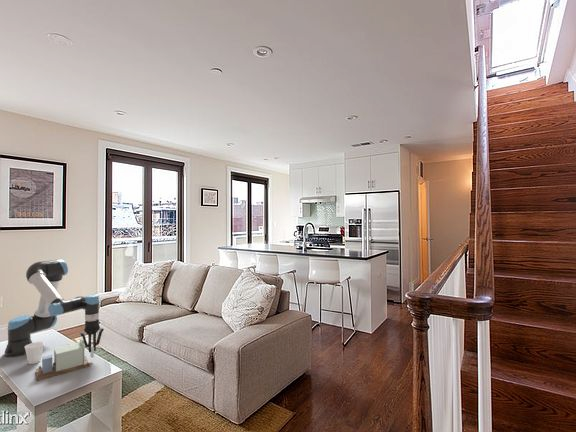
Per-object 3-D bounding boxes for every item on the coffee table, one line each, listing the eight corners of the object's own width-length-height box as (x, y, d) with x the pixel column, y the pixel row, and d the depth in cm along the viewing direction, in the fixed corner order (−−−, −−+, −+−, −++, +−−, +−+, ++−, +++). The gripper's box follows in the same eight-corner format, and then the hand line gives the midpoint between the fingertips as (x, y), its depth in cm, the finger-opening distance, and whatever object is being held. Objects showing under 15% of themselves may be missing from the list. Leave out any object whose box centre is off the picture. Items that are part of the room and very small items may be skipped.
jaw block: (51, 367, 185) (51, 354, 185) (52, 370, 182) (52, 357, 182) (42, 370, 182) (42, 356, 182) (42, 373, 179) (42, 359, 179)
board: (35, 371, 184) (35, 363, 184) (85, 358, 201) (85, 351, 201) (37, 380, 173) (37, 372, 173) (89, 366, 190) (89, 359, 190)
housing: (54, 364, 189) (54, 343, 189) (81, 357, 198) (81, 337, 198) (56, 371, 180) (56, 349, 180) (84, 364, 189) (84, 343, 189)
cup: (33, 366, 190) (33, 348, 190) (20, 365, 192) (20, 347, 192) (48, 359, 200) (48, 342, 200) (36, 357, 202) (35, 341, 202)
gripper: (80, 323, 190) (81, 361, 190) (105, 318, 199) (105, 355, 199) (78, 320, 196) (79, 357, 195) (102, 316, 204) (102, 351, 204)
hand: (92, 356), depth 197 cm, fingers closed
